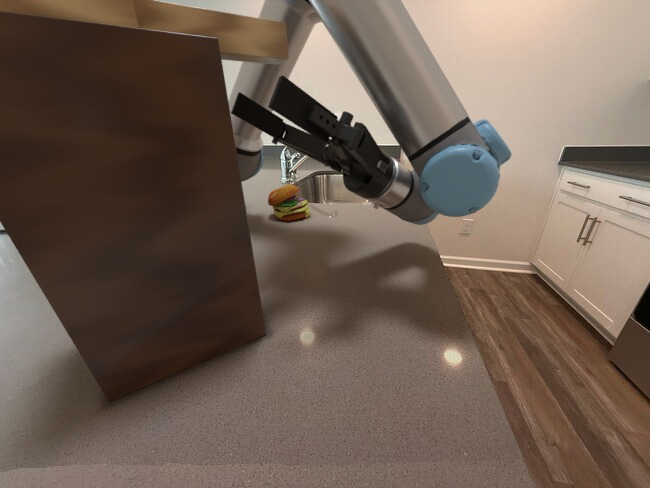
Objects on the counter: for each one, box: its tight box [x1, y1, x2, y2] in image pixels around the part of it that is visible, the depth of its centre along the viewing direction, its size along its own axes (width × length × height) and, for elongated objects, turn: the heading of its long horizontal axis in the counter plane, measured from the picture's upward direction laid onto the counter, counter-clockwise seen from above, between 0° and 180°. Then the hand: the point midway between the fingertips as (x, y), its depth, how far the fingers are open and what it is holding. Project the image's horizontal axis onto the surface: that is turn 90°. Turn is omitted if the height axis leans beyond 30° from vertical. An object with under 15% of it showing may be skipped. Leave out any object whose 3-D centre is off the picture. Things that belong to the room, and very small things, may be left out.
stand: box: [0, 11, 267, 402], centre depth 27 cm, size 16×12×30 cm
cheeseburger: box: [267, 183, 311, 222], centre depth 71 cm, size 10×11×10 cm
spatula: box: [0, 0, 289, 65], centre depth 22 cm, size 22×11×3 cm, turn 122°
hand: (250, 97), depth 28 cm, fingers open, 13 cm apart
